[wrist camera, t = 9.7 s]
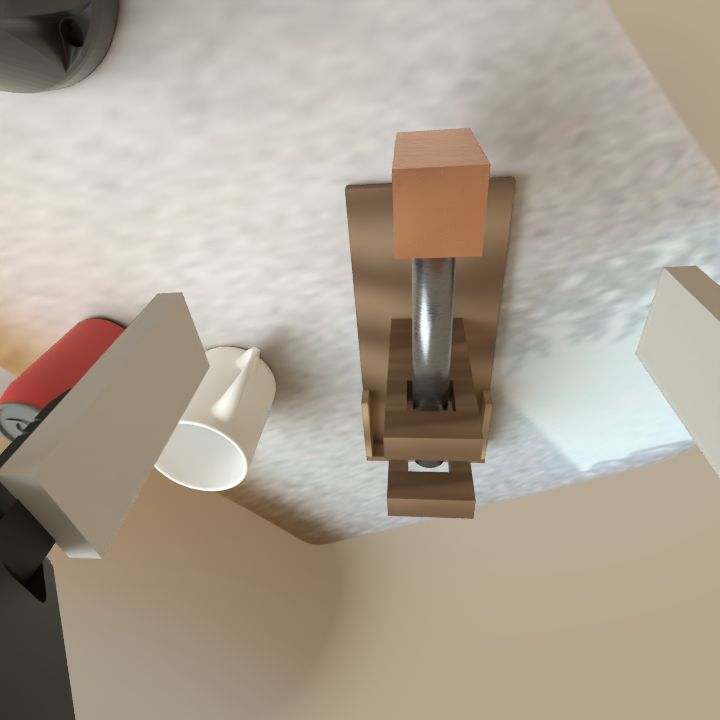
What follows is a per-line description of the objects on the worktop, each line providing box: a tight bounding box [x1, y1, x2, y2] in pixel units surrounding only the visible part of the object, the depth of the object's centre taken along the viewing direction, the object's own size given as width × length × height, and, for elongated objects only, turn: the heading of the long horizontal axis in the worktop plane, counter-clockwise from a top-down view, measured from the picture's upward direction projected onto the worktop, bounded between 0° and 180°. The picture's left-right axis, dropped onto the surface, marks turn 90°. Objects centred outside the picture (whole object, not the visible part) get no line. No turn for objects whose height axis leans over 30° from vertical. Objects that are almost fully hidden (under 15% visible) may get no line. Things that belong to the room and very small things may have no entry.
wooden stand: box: [345, 177, 516, 519], centre depth 35 cm, size 27×12×15 cm, turn 4°
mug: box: [154, 346, 276, 491], centre depth 41 cm, size 9×12×11 cm
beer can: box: [0, 319, 125, 443], centre depth 40 cm, size 7×7×12 cm
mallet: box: [392, 128, 490, 468], centre depth 28 cm, size 22×4×8 cm, turn 4°
